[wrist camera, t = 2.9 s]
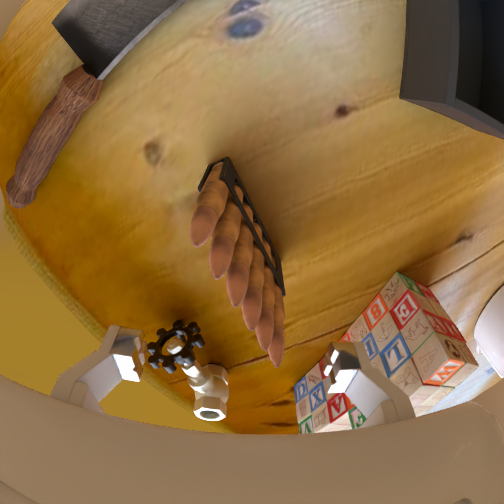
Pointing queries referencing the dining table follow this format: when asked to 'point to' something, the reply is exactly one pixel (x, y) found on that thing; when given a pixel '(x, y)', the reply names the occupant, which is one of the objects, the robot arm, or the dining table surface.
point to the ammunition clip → (241, 254)
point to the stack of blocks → (393, 357)
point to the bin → (456, 61)
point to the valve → (193, 369)
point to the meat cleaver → (82, 77)
